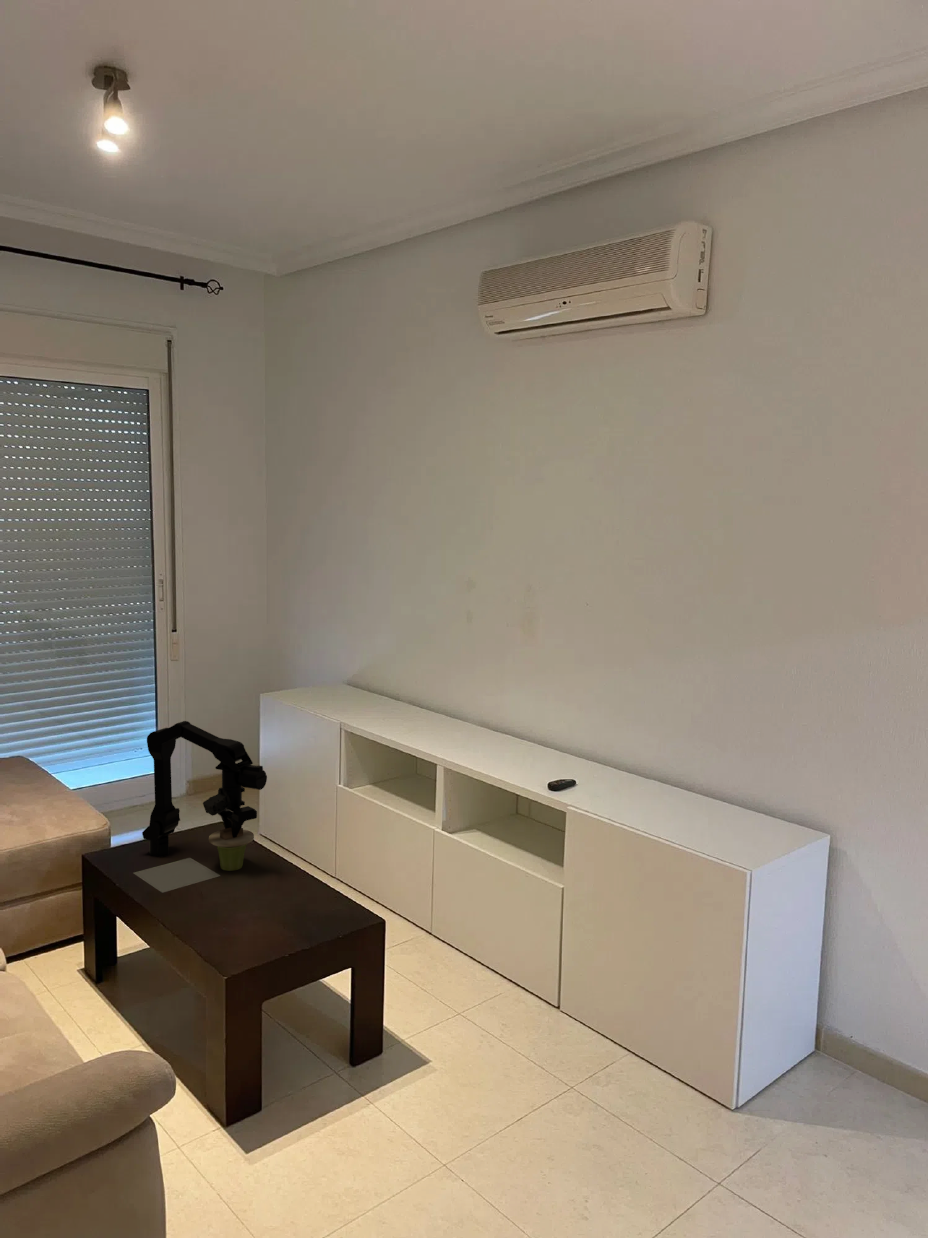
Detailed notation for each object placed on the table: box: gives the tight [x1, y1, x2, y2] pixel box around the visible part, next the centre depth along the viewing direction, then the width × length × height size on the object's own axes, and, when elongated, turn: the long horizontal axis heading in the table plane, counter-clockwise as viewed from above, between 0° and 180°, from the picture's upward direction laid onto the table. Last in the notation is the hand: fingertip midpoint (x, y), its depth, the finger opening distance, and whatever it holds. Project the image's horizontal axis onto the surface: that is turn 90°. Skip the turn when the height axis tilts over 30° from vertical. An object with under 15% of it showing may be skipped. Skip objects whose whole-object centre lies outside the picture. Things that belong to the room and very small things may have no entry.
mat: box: [133, 857, 221, 894], centre depth 262 cm, size 18×18×1 cm
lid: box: [208, 827, 255, 847], centre depth 268 cm, size 13×13×3 cm
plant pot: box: [216, 844, 248, 872], centre depth 269 cm, size 9×9×9 cm
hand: (231, 835), depth 268 cm, fingers closed on lid, 3 cm apart
